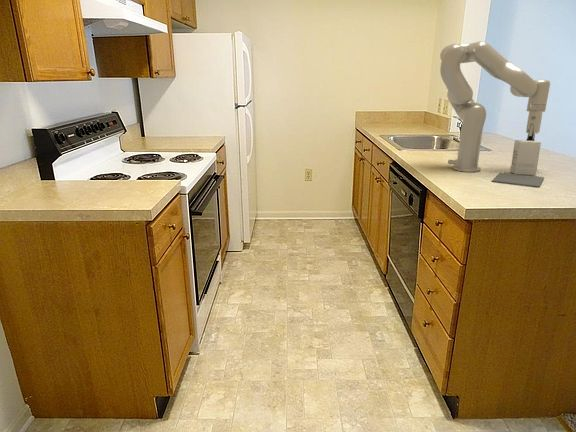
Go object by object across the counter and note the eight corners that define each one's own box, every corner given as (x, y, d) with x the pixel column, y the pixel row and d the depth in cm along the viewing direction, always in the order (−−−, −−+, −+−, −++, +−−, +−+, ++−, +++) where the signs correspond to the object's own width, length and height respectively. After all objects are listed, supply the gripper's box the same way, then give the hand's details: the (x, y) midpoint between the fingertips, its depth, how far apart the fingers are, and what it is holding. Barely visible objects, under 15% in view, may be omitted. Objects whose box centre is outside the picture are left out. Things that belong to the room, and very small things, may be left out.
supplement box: (530, 172, 196) (535, 140, 192) (536, 175, 187) (541, 141, 183) (509, 171, 198) (514, 139, 194) (514, 174, 189) (519, 141, 186)
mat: (491, 181, 179) (491, 180, 179) (499, 173, 194) (499, 172, 194) (539, 187, 169) (539, 186, 169) (543, 178, 184) (544, 177, 184)
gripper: (544, 109, 182) (536, 150, 188) (547, 107, 194) (539, 146, 200) (525, 108, 186) (517, 149, 192) (528, 106, 198) (522, 145, 204)
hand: (529, 147), depth 196 cm, fingers closed
